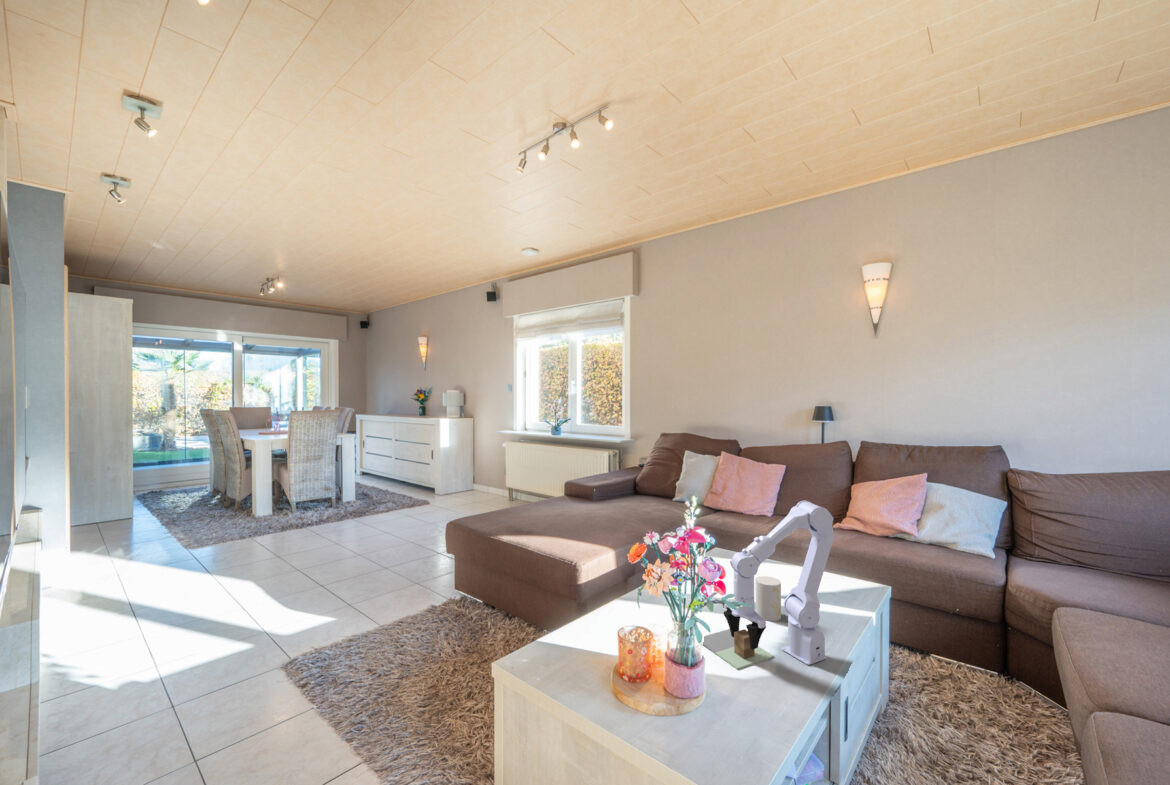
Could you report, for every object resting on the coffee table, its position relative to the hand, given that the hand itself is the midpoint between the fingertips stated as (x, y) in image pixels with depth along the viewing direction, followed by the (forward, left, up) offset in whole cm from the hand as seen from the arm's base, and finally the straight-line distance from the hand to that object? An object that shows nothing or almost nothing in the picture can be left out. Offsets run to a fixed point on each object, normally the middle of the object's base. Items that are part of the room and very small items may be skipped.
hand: (744, 642), depth 140 cm
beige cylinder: (+16, -26, -4) cm, 31 cm away
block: (0, 0, -3) cm, 3 cm away
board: (+5, 0, -4) cm, 6 cm away
